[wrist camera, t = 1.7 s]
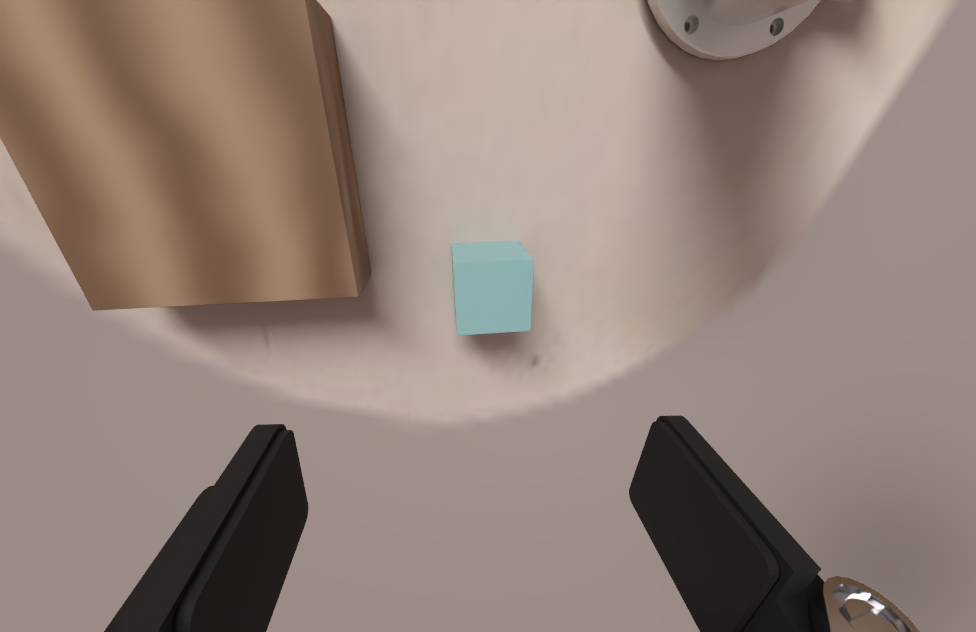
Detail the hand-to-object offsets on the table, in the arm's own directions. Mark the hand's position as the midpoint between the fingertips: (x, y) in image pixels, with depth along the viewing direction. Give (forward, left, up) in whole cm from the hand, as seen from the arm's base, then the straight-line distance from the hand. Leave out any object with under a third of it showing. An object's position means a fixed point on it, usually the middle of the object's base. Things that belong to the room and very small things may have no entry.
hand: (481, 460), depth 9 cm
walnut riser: (+14, -7, -19) cm, 24 cm away
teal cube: (-2, +1, -19) cm, 19 cm away
